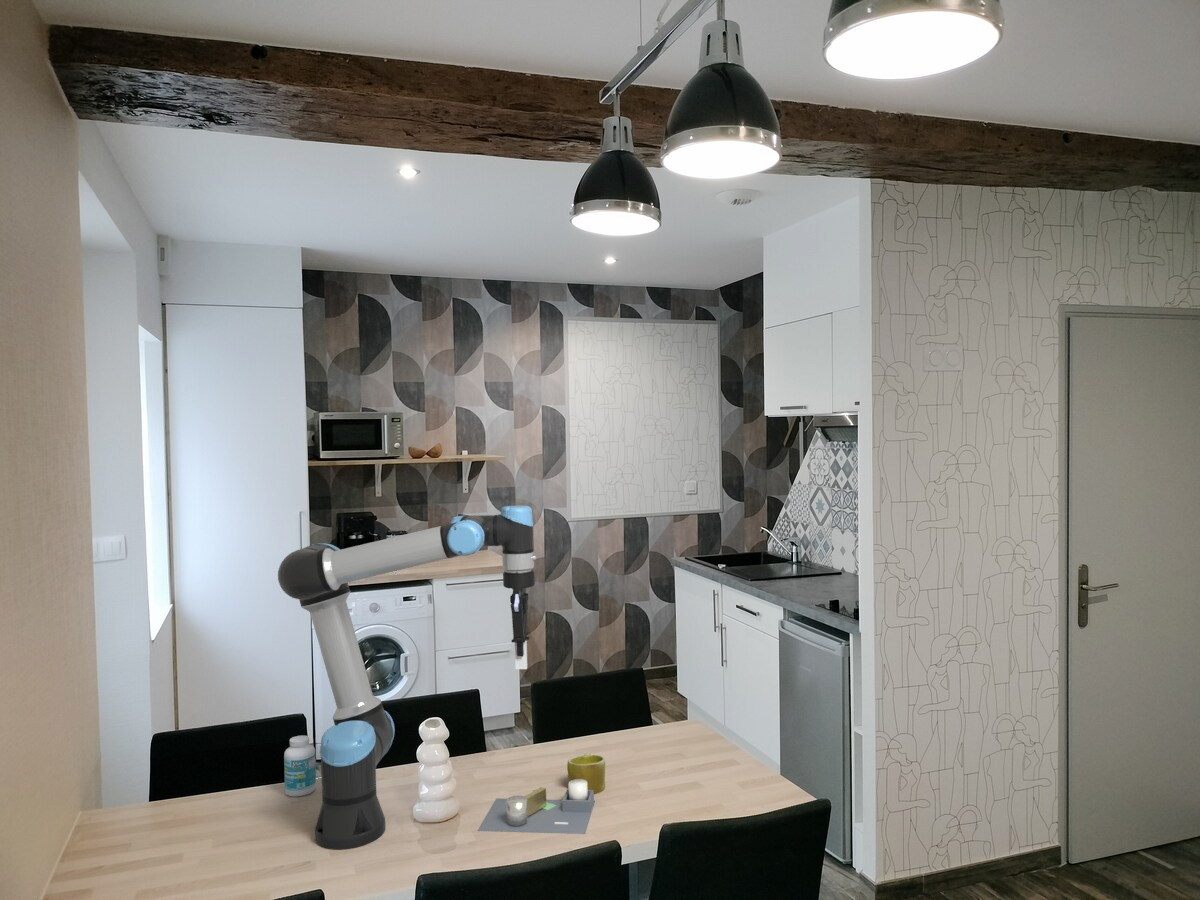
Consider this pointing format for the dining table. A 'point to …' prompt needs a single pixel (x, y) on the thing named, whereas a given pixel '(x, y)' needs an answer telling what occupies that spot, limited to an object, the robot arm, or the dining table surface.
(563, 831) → the board
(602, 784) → the mug
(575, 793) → the button
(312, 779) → the pill bottle
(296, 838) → the dining table surface
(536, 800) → the grey and tan piece
